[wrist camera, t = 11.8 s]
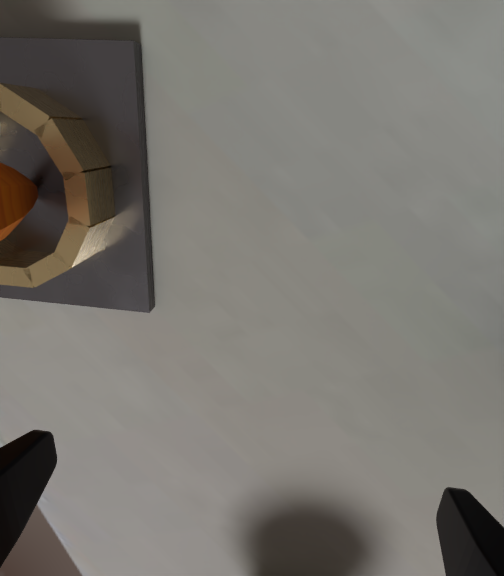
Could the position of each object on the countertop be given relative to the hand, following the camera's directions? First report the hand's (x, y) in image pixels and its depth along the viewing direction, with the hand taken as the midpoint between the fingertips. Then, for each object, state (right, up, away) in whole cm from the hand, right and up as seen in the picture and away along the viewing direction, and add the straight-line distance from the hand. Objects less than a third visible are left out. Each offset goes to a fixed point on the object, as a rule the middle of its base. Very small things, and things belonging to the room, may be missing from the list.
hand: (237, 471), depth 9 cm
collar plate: (-11, +10, +12) cm, 19 cm away
